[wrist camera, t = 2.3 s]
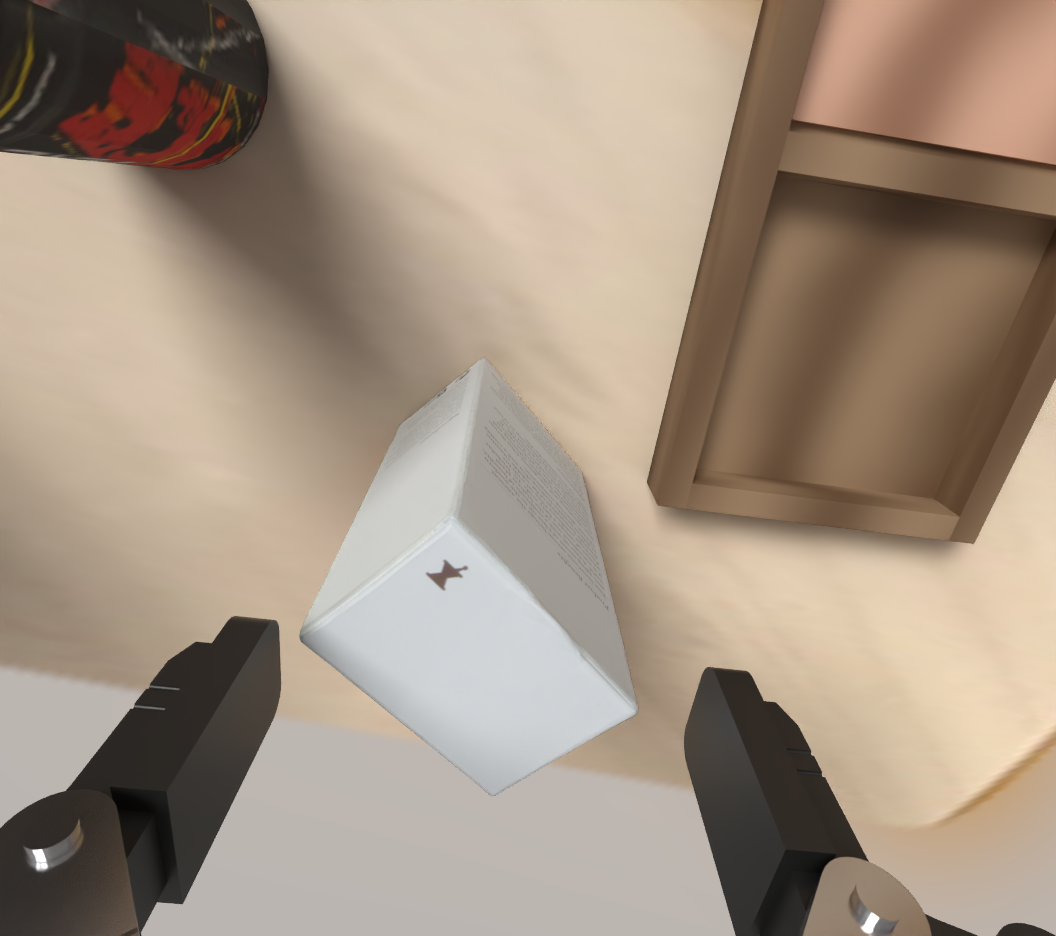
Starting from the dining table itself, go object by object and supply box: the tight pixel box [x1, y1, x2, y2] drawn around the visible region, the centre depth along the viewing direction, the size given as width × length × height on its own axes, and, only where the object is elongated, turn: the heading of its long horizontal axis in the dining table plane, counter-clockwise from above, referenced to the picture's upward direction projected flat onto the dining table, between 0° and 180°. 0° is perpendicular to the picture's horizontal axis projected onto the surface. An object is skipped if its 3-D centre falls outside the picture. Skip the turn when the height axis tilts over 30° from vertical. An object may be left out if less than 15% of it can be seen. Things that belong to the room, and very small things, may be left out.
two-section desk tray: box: [647, 0, 1056, 544], centre depth 19 cm, size 12×23×2 cm, turn 172°
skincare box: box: [300, 358, 638, 796], centre depth 18 cm, size 6×4×12 cm
